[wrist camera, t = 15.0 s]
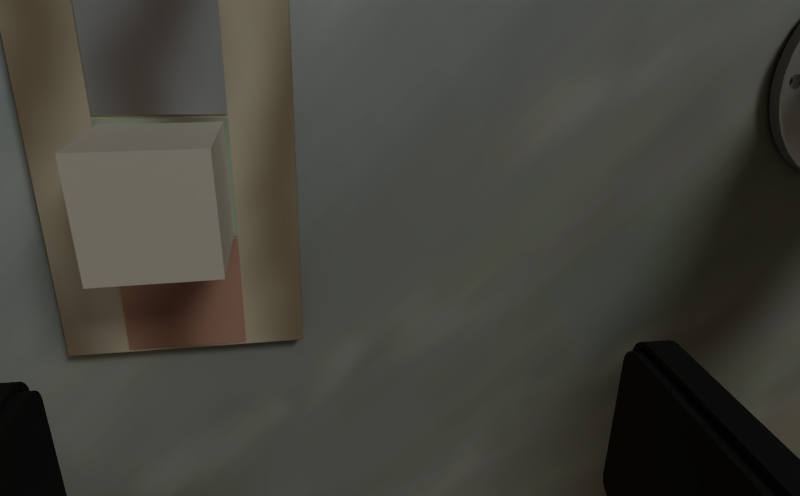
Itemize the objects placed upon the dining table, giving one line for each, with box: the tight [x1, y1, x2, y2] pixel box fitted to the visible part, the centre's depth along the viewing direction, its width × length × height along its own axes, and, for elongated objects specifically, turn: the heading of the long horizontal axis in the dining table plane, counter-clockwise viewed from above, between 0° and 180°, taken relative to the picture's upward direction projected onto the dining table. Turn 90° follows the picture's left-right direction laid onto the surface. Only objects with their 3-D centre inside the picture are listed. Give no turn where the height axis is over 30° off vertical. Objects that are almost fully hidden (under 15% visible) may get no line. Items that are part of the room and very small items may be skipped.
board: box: [0, 0, 303, 356], centre depth 32 cm, size 13×20×1 cm, turn 179°
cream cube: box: [55, 122, 234, 289], centre depth 29 cm, size 6×6×6 cm
